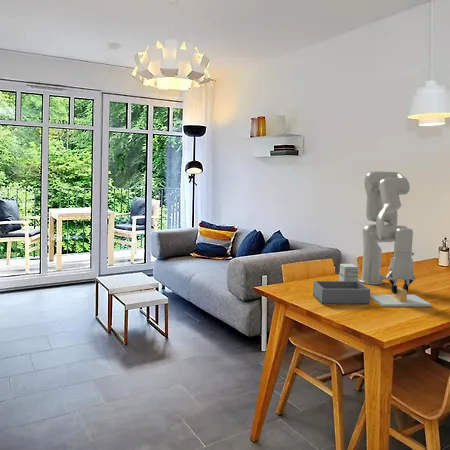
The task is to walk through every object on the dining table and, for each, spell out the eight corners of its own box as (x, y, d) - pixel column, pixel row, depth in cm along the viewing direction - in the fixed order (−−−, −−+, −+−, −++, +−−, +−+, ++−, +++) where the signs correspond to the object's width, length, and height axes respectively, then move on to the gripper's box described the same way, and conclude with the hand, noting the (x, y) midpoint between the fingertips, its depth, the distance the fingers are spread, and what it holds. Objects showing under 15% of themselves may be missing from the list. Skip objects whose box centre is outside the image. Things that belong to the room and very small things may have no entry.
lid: (414, 298, 216) (415, 284, 215) (431, 308, 200) (432, 293, 200) (368, 298, 214) (369, 284, 213) (382, 308, 199) (383, 293, 198)
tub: (357, 295, 216) (358, 281, 216) (369, 304, 202) (370, 289, 201) (312, 295, 215) (313, 280, 214) (321, 304, 200) (322, 289, 199)
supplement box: (338, 287, 230) (339, 263, 229) (352, 287, 231) (353, 263, 229) (343, 291, 223) (344, 266, 221) (357, 291, 223) (359, 266, 222)
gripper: (416, 253, 209) (413, 291, 211) (381, 253, 208) (378, 291, 210) (424, 256, 201) (421, 295, 204) (388, 256, 200) (385, 295, 202)
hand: (399, 293), depth 207 cm, fingers open, 4 cm apart
